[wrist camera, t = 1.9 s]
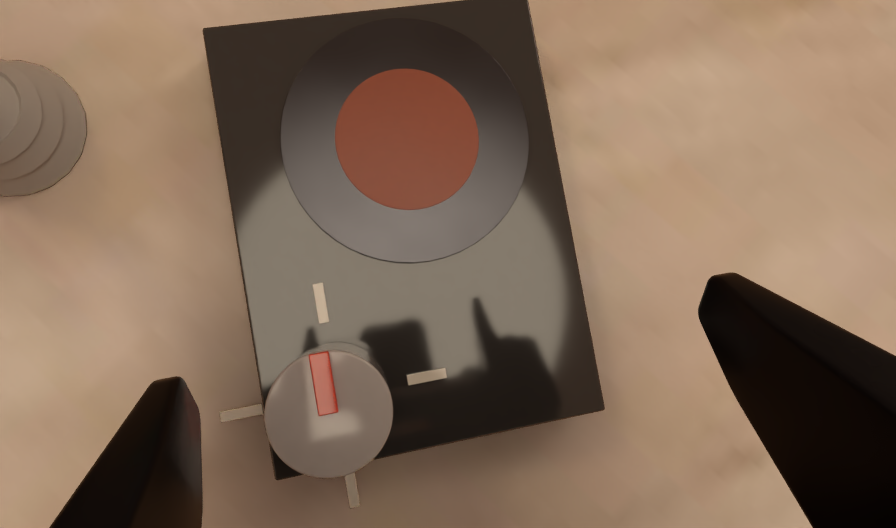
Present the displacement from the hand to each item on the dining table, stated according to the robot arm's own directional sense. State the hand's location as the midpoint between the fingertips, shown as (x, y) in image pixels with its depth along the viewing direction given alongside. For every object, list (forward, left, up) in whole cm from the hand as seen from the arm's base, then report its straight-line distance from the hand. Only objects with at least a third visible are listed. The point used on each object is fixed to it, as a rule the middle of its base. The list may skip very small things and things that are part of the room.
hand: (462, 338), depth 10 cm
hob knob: (-2, +3, -12) cm, 12 cm away
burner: (+6, -1, -12) cm, 13 cm away
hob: (+3, -1, -14) cm, 14 cm away
